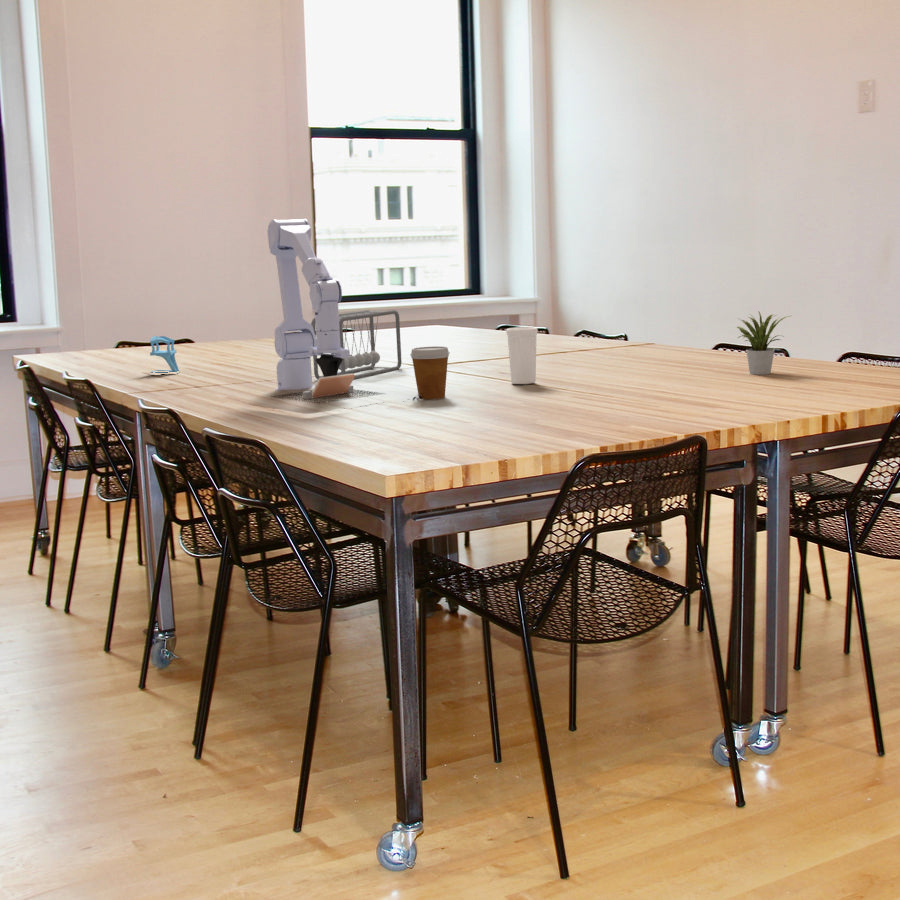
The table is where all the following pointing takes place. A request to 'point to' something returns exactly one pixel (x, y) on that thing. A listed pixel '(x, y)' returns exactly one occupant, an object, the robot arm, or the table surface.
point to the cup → (522, 354)
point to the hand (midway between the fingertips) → (330, 386)
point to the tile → (332, 385)
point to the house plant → (759, 345)
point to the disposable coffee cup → (430, 371)
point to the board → (309, 395)
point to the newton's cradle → (365, 357)
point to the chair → (164, 352)
